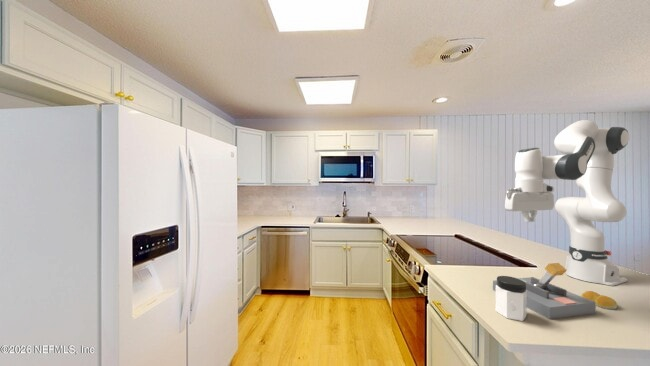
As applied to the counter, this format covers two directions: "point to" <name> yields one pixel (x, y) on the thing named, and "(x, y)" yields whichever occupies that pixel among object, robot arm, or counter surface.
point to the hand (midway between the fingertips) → (529, 221)
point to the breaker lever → (550, 275)
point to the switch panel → (555, 301)
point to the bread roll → (600, 300)
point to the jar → (511, 298)
